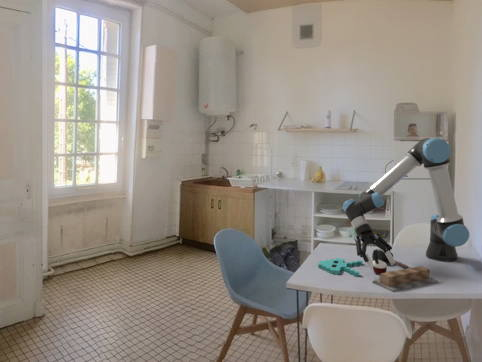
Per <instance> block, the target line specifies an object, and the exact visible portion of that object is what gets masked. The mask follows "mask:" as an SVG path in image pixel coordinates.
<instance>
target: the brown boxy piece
mask: <svg viewBox="0 0 482 362" xmlns="http://www.w3.org/2000/svg"><path fill="white" fill-rule="evenodd" d="M438 282H439V281H438V279H435V278H432V277H431V270H430V268H428V267H424V266H415V267H409V268H408V269H404V268H402V269H397V270H393V271H386V273H381V274H380V275H379V279H375V280H374V279H373V280H372V283H373V284H376V285H377V286H380V287H381V288H383V289H386V290H388V291H390V292H392V293H393V292H397V291H401V290H402V291H403V290H408V289H412V288H416V287H417V288H418V287H422V286H426V285H430V284H436V283H438Z"/></svg>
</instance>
